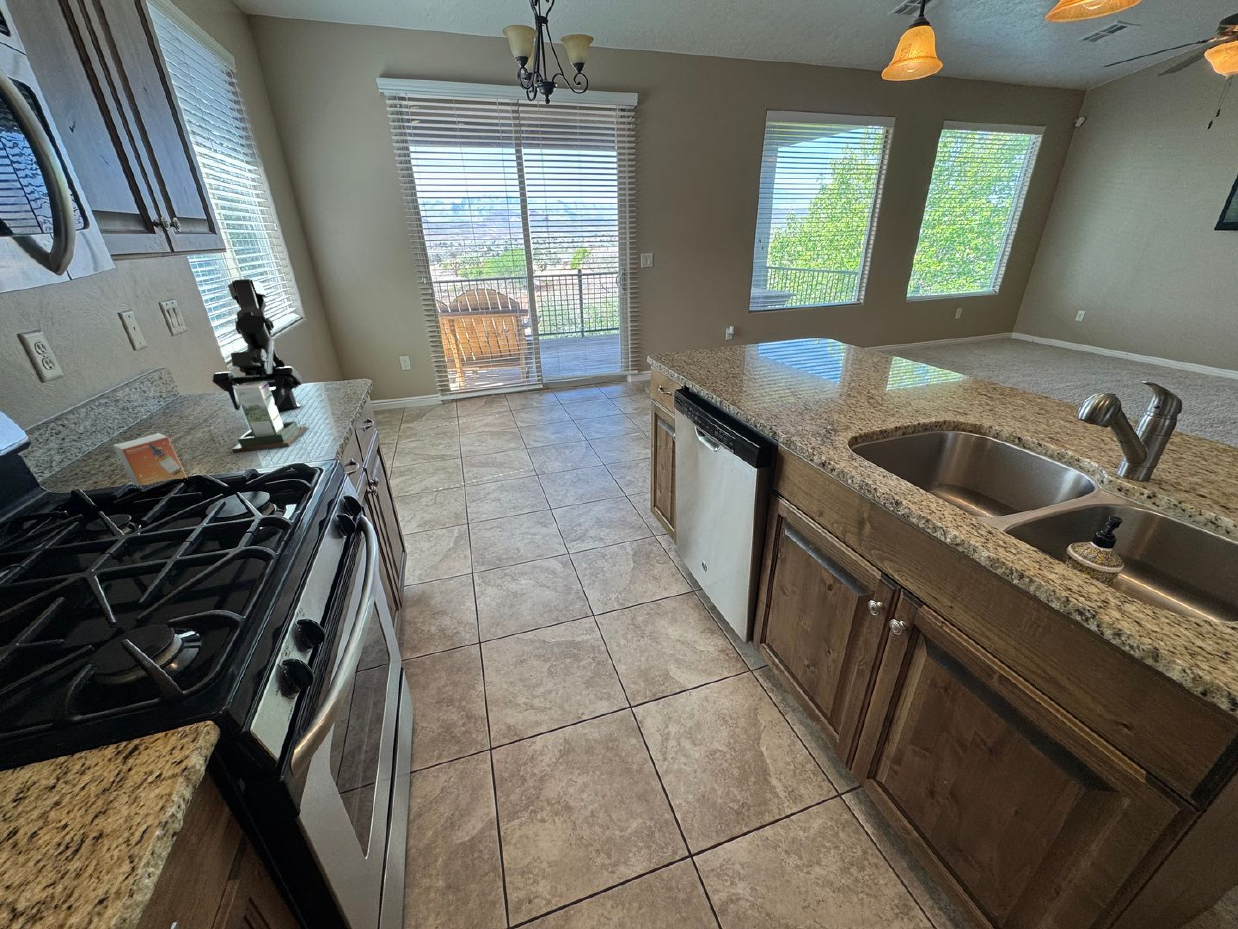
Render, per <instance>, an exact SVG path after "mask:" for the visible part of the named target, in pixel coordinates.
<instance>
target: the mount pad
mask: <svg viewBox="0 0 1238 929" xmlns="http://www.w3.org/2000/svg"><path fill="white" fill-rule="evenodd" d="M282 423H283V426H284V428H285V429H284V430H283V431H282V432H281V433H279V434H272V435H263V436H253V434H252V431H251V429H249V430H248V431H247V432H245V433H244V434H243V435H241V436H240V437H239V438H237V441H238V443H237V444H236V445H235V446H234V447H232V448H231V451H232V453H233V454H234V453H242V452H252V451H261V450H270V449H278V448H288V447H290V446H291V445H292V444H293V443H295V441H296V440H298V438H299V437H300V436H301V435H303V434H304V432H306V430H307V429H308V427H307V426H306V425H299V426H298V424H297V421H288V422H282Z"/></svg>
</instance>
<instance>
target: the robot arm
mask: <svg viewBox="0 0 1238 929" xmlns="http://www.w3.org/2000/svg"><path fill="white" fill-rule="evenodd" d="M227 287H228V291H229V293H230V296H231V299H232V300H233V301H236V304H237V305H238V307H239V308H240V310H238V311H237V312H236V319H237V320H235V321H234V323H235V324H234V326H235V330H236V332H237V334H238V335H241V337H242V339H243V341H244V343H245V344H246V345H247V348H246V351H239V352H237V351H236V352H231V353H230V358H231V365H232V367H233V368H235V367H236V368H239V372H241V373H242V374H244V375H236V374H234V373H233V372H232V371H221V372H220V371H219V372H215V373H213V375H212V383H214V384H215V385H216V386H217V387H219V389H221V390H223V391H224V392H226V393H228V395H229V397H230V400H231V402H232V405H233V407H234V410H236V411H240V409H241V404H240V402H239V399H238V397H237V395H236V392H235V388H236V387H237V386H239V385H240V384H243V383H252V382H261V381H267V383H268V385H269V388H270V390H271V393H272V396H273V399H274V404H275V406H276V407H277V410H278V413H279V412H284V411H289V410H294V409H297V408H298V409H299V408H301V405H300V404H299V403H298V402H297V399H296V397H295V394H294V391H293V390H294V389H297V388H298V387H299V386H302V384H303V378H302V375H301V374H300V373H299V372H298V371H297V370H296V369H295V368H294V367H292V366H287V365H286V363H285V362H284V361H283V360H282V359H281V358H280V357H278V354H277V352H276V351H277V350H276V349H275V341H274V340H273V339H272V336H271V335H272V331H274V328H275V324H274V321H273V320H271V319H270V318H269V317H266V314H265V309H266V307H267V302H266V299H265V298H267V295H266V291H265V289H264V286H263V284H262V282H259V281H255V280H253V279H250V278H243V279H234V280H232V281H231V283H230V284H229V283H228V285H227Z"/></svg>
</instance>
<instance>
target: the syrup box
mask: <svg viewBox="0 0 1238 929" xmlns="http://www.w3.org/2000/svg"><path fill="white" fill-rule="evenodd" d="M235 392H236V395H237V397H238V399H239V402H240V404H241V406H240V408H241V409H242V412H243V414H244V417H245V420H246V421H247V424H248V427H249V430H251V431H252V434H253V436H263V435H272V434H279V433H281V432H282V431H283V430H284V429H285V428H284V426H283V423H284V422H283V420H282V419H281V415H280V413H279V412H278V410H277V407H276V406H275V404H274V399H273V396H272V393H271V390H270V388H269V385H268V383H267V381H261V382H252V383H243V384H240V385H239V386H237V387H236V388H235Z"/></svg>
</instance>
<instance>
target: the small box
mask: <svg viewBox="0 0 1238 929" xmlns="http://www.w3.org/2000/svg"><path fill="white" fill-rule="evenodd" d="M112 447H113V449H114V451H115V453H116V455H117V456H118V459H119V460H120V462H121V464H122V466H123V468H124V470H125V472H126V474H127V475H128V477H129V479H130V482H131V483H132V485H133V486H134V485H140V486H142V485H149V484H153V483H156V482H160V481H166V480H171V479H183V478H187V479H188V477H187V475H186V473H185V470H184V468H183V466H182V464H181V462H180V460H179V458H178V455H177V453H176V452H175V449H174V447H173V445H172V443H171V440H170V439H169V437H168V436H166V435H164V434H162V433H160V432H157V433H153V434H150V435H147V436H142V437H140V438H135V439H132V440H128V441H123V442H121V443H115V444H112Z"/></svg>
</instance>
